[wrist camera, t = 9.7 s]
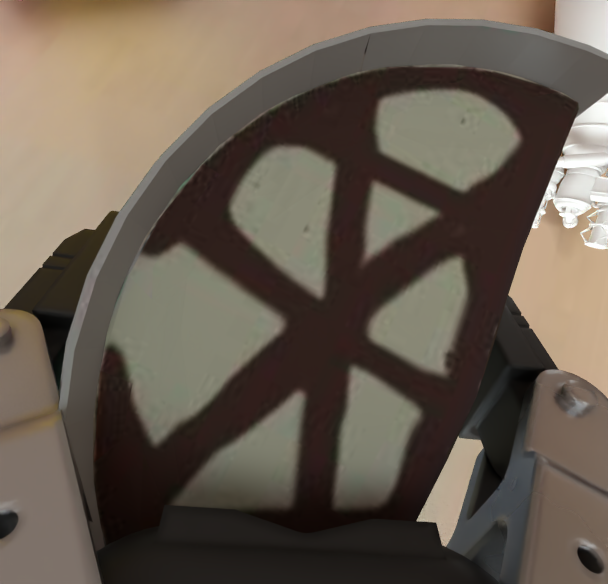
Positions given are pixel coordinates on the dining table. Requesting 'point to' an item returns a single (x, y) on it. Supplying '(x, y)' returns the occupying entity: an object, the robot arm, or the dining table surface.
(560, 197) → the rocket engine
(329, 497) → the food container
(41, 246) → the dining table surface
